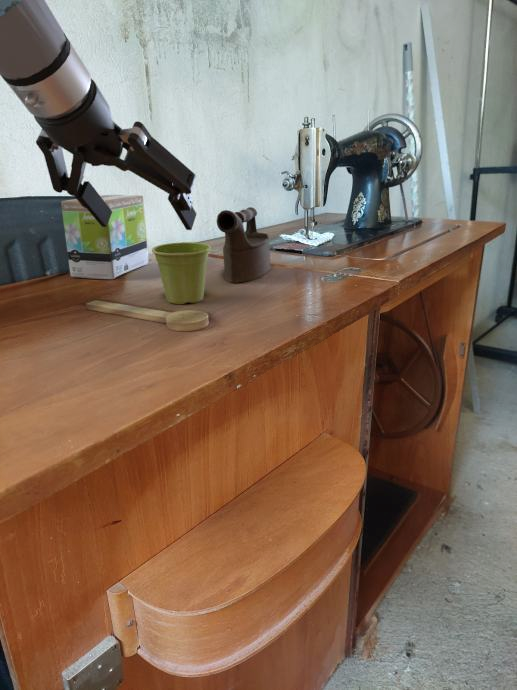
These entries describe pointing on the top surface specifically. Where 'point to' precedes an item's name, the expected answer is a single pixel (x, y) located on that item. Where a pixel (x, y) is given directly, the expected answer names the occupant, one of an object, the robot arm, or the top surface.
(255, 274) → the clothes iron
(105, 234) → the tea box
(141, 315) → the spoon
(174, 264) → the plant pot
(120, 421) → the top surface
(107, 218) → the robot arm
